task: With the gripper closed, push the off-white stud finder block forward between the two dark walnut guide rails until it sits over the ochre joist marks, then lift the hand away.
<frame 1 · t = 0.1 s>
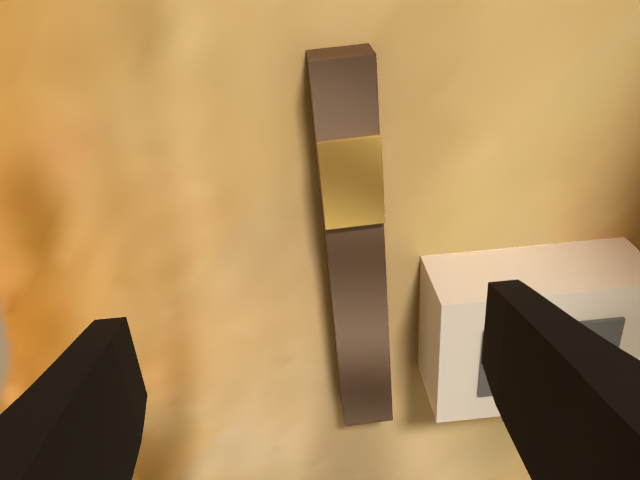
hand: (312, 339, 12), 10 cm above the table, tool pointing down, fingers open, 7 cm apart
stud finder: (514, 300, 25), on the table
guide rails: (523, 230, 23), on the table
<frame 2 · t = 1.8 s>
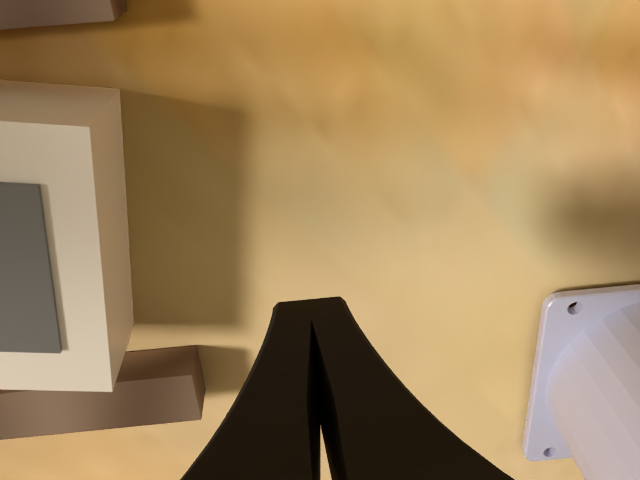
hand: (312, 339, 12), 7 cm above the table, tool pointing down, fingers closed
stud finder: (36, 209, 19), on the table
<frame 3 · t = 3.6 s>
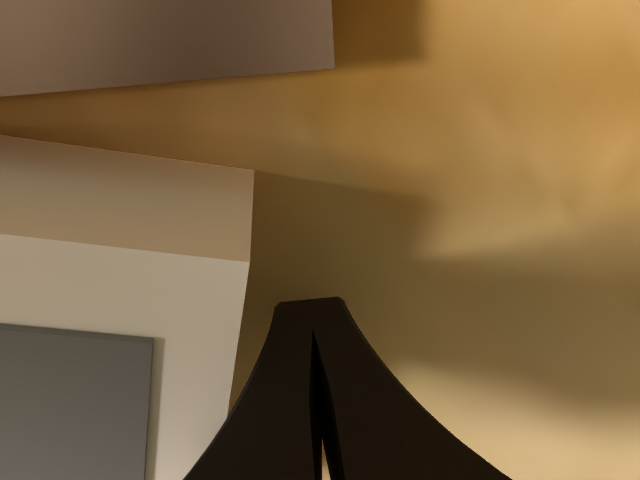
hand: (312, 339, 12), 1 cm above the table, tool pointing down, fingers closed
stud finder: (102, 320, 13), on the table, touching gripper
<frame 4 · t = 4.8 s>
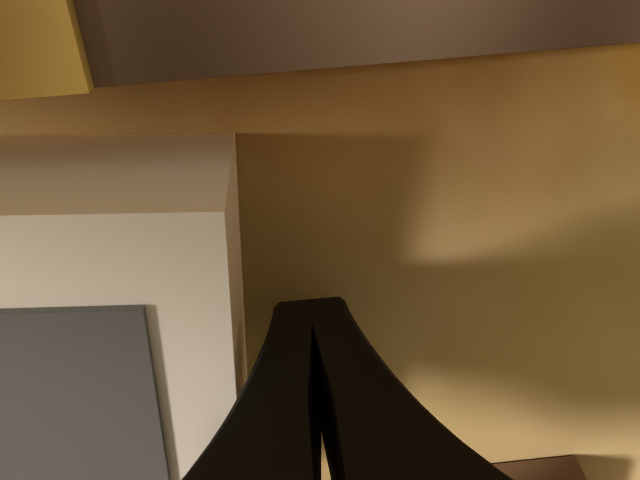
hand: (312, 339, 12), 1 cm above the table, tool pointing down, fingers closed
stud finder: (115, 307, 13), on the table
guide rails: (267, 314, 13), on the table
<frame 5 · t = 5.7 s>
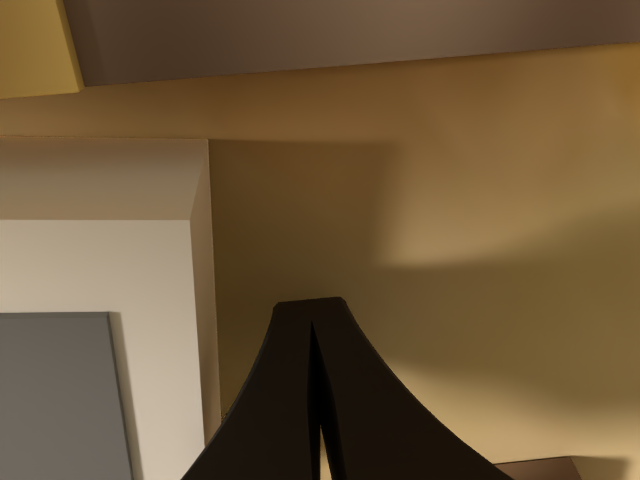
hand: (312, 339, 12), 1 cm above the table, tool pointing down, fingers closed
stud finder: (86, 311, 13), on the table
guide rails: (261, 315, 13), on the table
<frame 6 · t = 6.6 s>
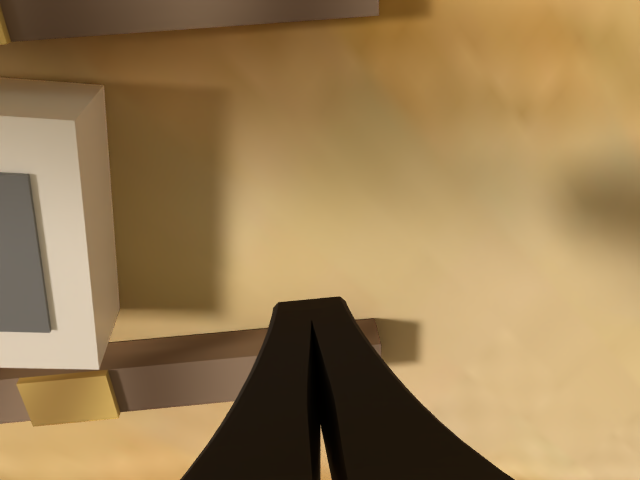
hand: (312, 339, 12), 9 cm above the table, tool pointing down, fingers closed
stud finder: (26, 199, 20), on the table
guide rails: (142, 202, 20), on the table
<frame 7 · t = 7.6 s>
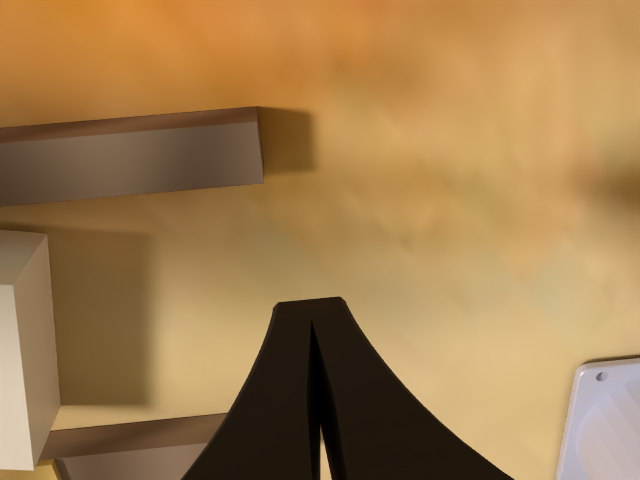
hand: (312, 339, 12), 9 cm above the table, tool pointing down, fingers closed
guide rails: (79, 319, 23), on the table
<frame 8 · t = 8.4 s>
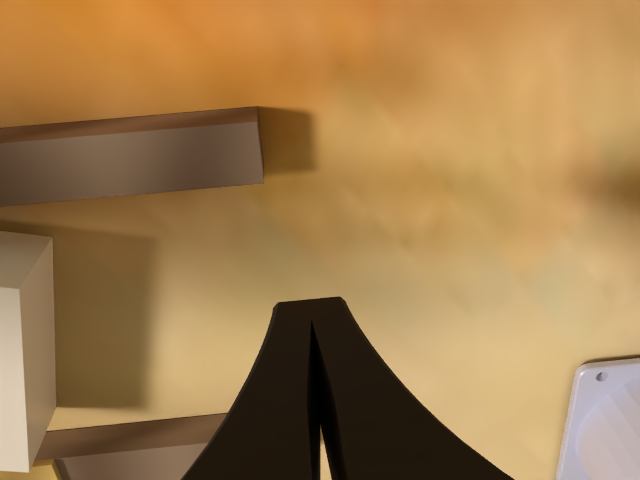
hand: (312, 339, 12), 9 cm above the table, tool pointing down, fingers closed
guide rails: (79, 319, 23), on the table
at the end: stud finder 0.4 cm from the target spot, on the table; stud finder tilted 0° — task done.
